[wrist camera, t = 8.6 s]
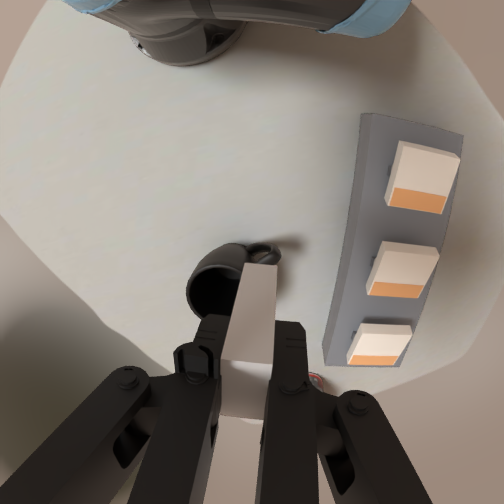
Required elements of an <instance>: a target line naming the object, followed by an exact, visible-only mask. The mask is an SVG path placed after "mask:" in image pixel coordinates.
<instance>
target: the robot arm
mask: <svg viewBox="0 0 504 504" xmlns="http://www.w3.org/2000/svg"><path fill="white" fill-rule="evenodd" d="M62 1H63V2H65V3H67V4H68V5H70V6H72V7H73V8H74V9H75V10H76V11H79V12H81V13H85V14H90V15H93V16H95V17H98V18H100V19H102V20H105V21H107V22H109V23H112V24H114V25H116V26H118V27H120V28H123V29H125V30H127V31H128V32H129V35H130V37H131V39H132V41H133V42H134V44H135V45H136V47H137V48H138V49H139V50H140V51H141V52H143V53H144V54H145V55H147V56H148V57H150V58H152V59H154V60H157V61H159V62H162V63H164V64H168V65H174V66H188V65H195V64H199V63H202V62H205V61H208V60H210V59H213V58H215V57H216V56H218V55H220V54H221V53H223V52H224V51H226V50H227V49H228V48H229V47H230V46H231V45H232V44H233V43H234V42H235V41H236V40H237V39H238V38H239V36H240V35H241V33H242V31H243V30H244V28H245V25H246V23H247V21H255V22H265V23H275V24H283V25H290V26H297V27H304V28H310V29H315V30H316V32H319V33H323V34H329V33H337V34H343V35H348V36H353V37H358V38H369V37H372V36H377V35H380V34H382V33H384V32H385V31H387V30H388V29H390V28H391V27H392V26H393V25H394V24H395V23H396V22H397V21H398V20H399V19H400V17H401V16H402V15H403V13H404V12H405V11H406V9H407V7H408V6H409V4H410V2H411V1H412V0H62ZM276 288H277V266H274V265H264V264H253V263H245V264H244V268H243V272H242V276H241V280H240V284H239V288H238V292H237V296H236V299H235V303H234V307H233V311H232V315H231V316H222V315H214V314H208V315H207V316H206V317H205V318H204V319H202V320H201V322H200V325H199V327H198V331H197V333H196V335H195V338H194V340H193V342H189V343H185V344H183V345H181V346H179V347H177V348H176V350H175V351H174V352H173V355H174V364H175V373H173V374H171V375H167V376H157V377H149V376H148V374H147V373H146V371H144V370H143V369H141V368H139V367H135V366H124V367H121V368H118V369H116V370H115V371H113V372H112V373H111V374H110V375H109V376H108V377H107V378H106V379H105V380H104V381H103V382H102V383H101V384H100V385H99V386H98V387H97V388H96V389H95V390H94V391H93V392H92V393H91V394H90V395H89V396H88V397H87V398H86V399H85V400H84V401H83V402H82V403H81V404H80V405H79V406H78V407H77V408H76V410H74V411H73V412H72V413H71V414H70V415H69V416H68V418H66V419H65V421H64V422H62V423H61V425H60V426H59V427H58V428H57V429H56V430H55V431H54V432H53V433H52V434H51V435H50V436H49V437H48V438H47V439H46V440H45V441H44V442H43V443H42V444H41V445H40V446H39V447H38V448H37V449H36V451H34V452H33V453H32V454H31V455H30V457H29V458H28V459H27V460H26V461H25V462H24V463H23V464H22V465H21V466H20V467H19V468H18V469H17V470H16V471H15V472H14V473H13V475H11V476H10V478H8V480H7V481H6V482H5V483H4V484H3V485H2V486H1V487H0V504H109V503H110V502H111V500H112V499H113V498H114V496H115V495H116V494H117V492H118V491H119V490H120V488H121V487H122V486H123V484H124V483H125V482H126V480H127V479H128V477H129V476H130V475H131V473H132V472H133V471H134V469H135V468H136V467H137V465H138V464H139V462H140V461H141V460H142V458H143V457H144V458H143V460H142V463H141V466H140V469H139V472H138V474H137V477H136V480H135V483H134V486H133V488H132V491H131V494H130V497H129V500H128V503H127V504H203V500H204V495H205V491H206V486H207V481H208V476H209V471H210V466H211V461H212V457H213V452H214V446H215V442H216V437H217V432H218V418H219V413H220V415H224V416H232V417H240V418H249V419H259V420H264V421H263V429H262V434H261V441H260V444H261V447H260V457H259V468H258V477H257V487H256V496H255V504H319V489H318V459H317V453H318V455H319V458H320V461H321V464H322V466H323V469H324V472H325V475H326V478H327V481H328V483H329V486H330V489H331V492H332V495H333V498H334V501H335V503H336V504H433V503H432V501H431V499H430V498H429V496H428V494H427V492H426V490H425V488H424V486H423V484H422V482H421V480H420V478H419V476H418V475H417V473H416V471H415V469H414V467H413V465H412V463H411V461H410V460H409V458H408V456H407V454H406V453H405V450H404V449H403V447H402V445H401V443H400V441H399V439H398V438H397V436H396V434H395V432H394V430H393V429H392V427H391V425H390V423H389V421H388V419H387V418H386V416H385V414H384V412H383V410H382V409H381V407H380V405H379V403H378V402H377V401H376V399H375V398H374V397H373V396H372V395H370V394H369V393H367V392H364V391H360V390H350V391H347V392H344V393H343V394H342V395H341V396H340V397H337V396H333V395H330V394H327V393H324V392H322V391H320V390H318V389H317V388H316V387H315V386H314V385H313V384H312V382H311V381H310V379H309V372H308V358H307V344H306V332H305V329H304V328H303V327H302V325H301V324H300V322H290V321H279V320H275V310H276Z"/></svg>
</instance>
